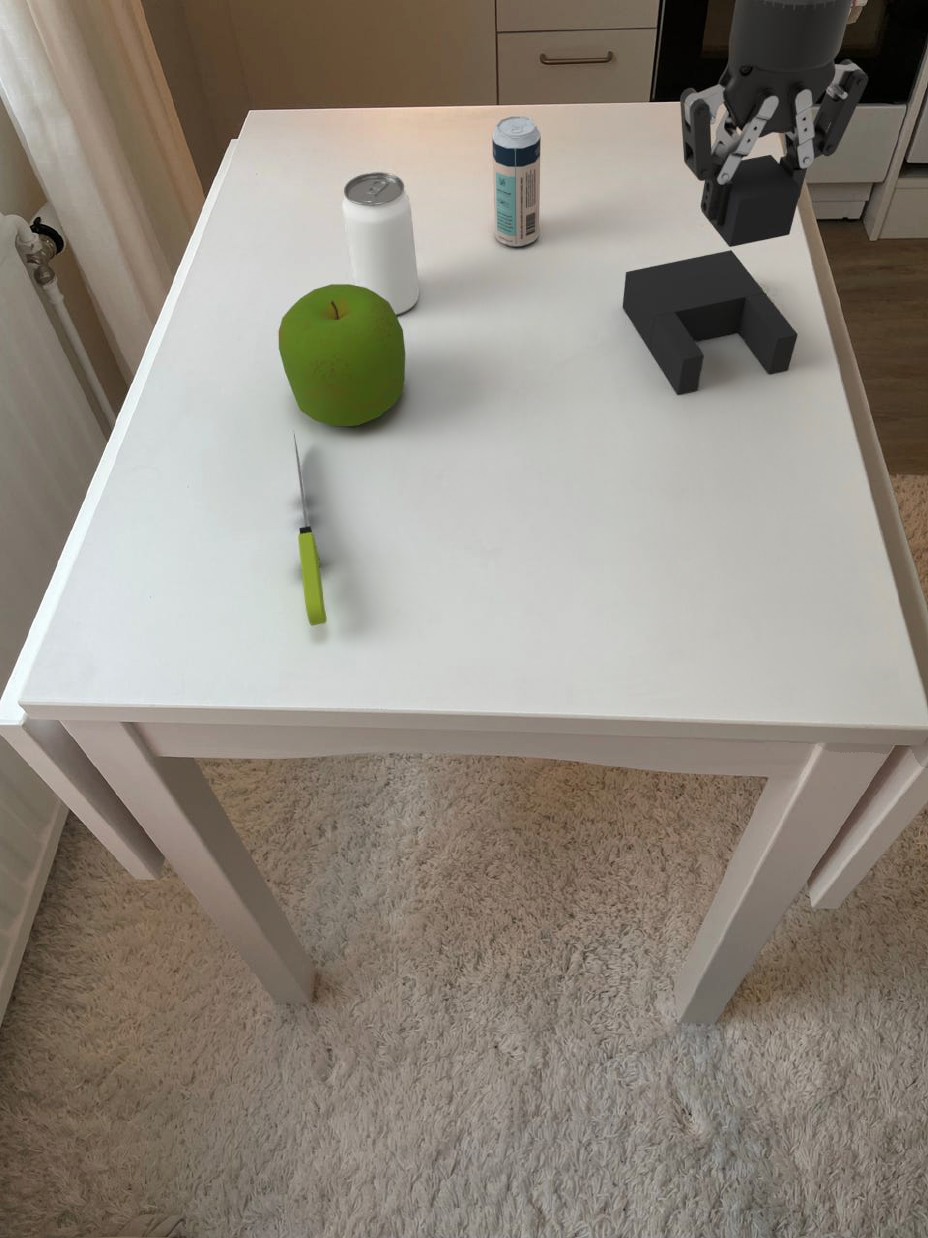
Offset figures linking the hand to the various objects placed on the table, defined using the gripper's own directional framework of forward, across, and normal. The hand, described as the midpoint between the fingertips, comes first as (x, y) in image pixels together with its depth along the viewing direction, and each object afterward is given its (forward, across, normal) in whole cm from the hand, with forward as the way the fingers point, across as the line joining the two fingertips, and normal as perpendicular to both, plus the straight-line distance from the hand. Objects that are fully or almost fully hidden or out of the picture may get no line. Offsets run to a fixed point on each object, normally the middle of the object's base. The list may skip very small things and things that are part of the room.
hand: (747, 213), depth 76 cm
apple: (+16, -33, +7) cm, 38 cm away
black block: (+1, 0, 0) cm, 1 cm away
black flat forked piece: (+16, +1, +5) cm, 16 cm away
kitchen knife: (+16, -40, -8) cm, 44 cm away
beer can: (+16, -11, +27) cm, 33 cm away
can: (+16, -27, +21) cm, 37 cm away
